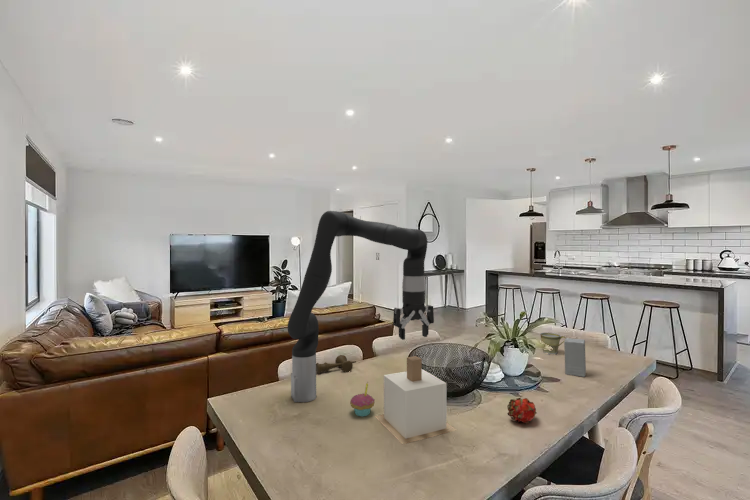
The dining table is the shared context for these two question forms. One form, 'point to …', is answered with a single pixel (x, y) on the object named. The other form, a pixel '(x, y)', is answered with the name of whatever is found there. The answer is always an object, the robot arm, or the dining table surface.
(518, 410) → the dragon fruit
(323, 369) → the kendama
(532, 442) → the dining table surface
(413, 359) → the white cube with peg
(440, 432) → the mat
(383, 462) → the dining table surface
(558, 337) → the ceramic cup
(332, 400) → the dining table surface
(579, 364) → the skincare box
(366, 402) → the cupcake
